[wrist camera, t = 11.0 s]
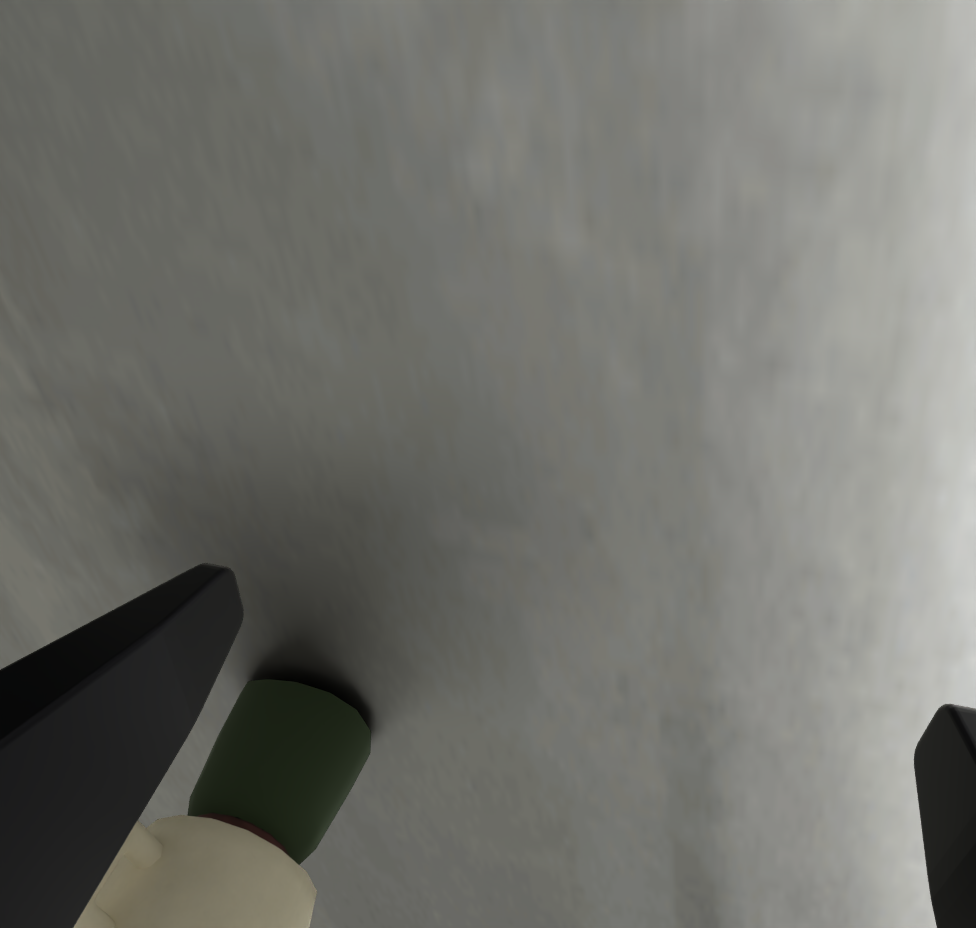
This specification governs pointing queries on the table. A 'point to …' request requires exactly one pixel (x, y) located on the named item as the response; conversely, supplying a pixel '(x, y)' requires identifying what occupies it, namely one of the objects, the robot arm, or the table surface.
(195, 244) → the table surface
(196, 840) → the character mug
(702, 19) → the table surface
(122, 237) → the table surface
